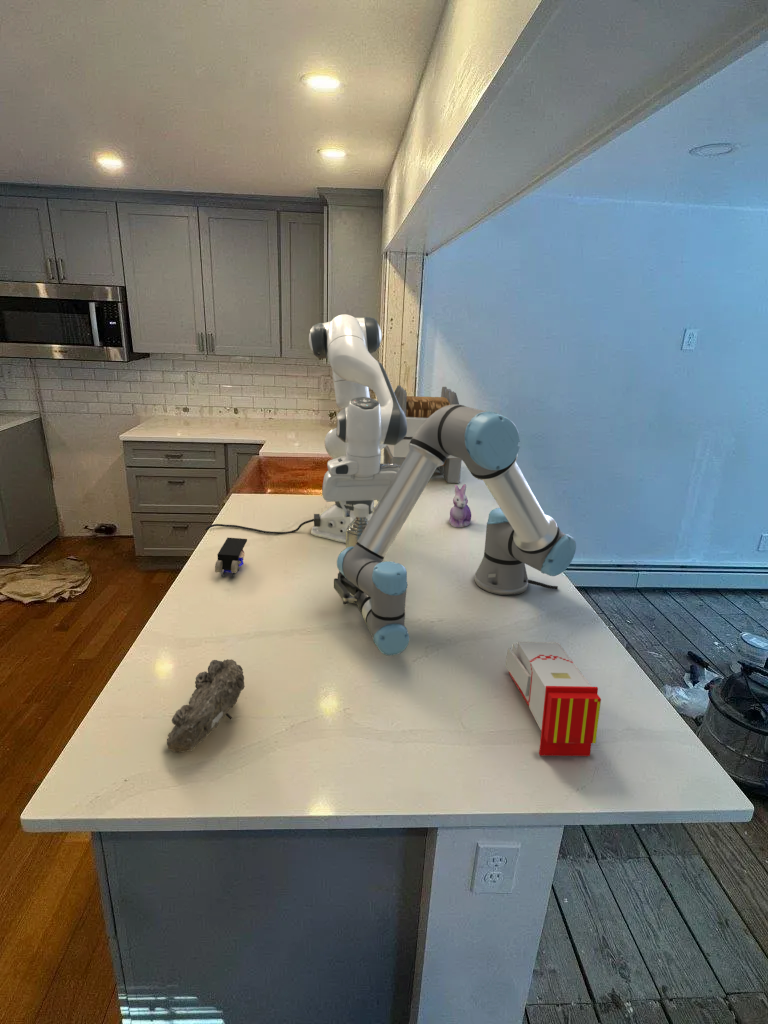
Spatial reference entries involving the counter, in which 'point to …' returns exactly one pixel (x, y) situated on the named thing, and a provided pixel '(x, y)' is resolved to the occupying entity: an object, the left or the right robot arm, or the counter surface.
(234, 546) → the figurine character
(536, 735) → the counter surface
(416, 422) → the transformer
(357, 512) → the cap
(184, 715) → the fossil
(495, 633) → the counter surface
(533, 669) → the toy
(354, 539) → the silver ridged cylinder
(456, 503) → the figurine
